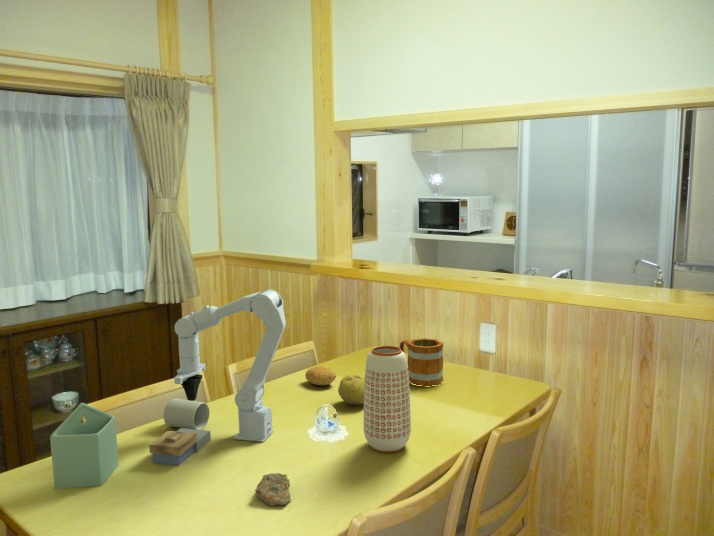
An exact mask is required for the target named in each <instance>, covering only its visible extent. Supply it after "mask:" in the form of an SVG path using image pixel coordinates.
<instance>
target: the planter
mask: <svg viewBox="0 0 714 536" xmlns="http://www.w3.org/2000/svg"><path fill="white" fill-rule="evenodd" d="M83 419H85V421H84V422H83V423H82V420H83ZM117 437H118V435H117V424H116V416H115V415H113V414H110V413H108V412H105V411H103V410H101V409H98V408H96V407H93V406H91V405H89V404H86V403H85V402H80V403H79V404H78V405H77V407H76V408H75V409H73V411H72V412H71V413H70V414H69V416H67V417H66V419H64V420H63V422H61V424H59V426H58V427H57V428H56V429H55V430H54V431H53V432H52V433H51V435H50V437H49V439H50V452H51V454H50V455H51V463H52V465H51V466H52V474H53V486H54V487H53V489H58V490H59V489H75V488H77V489H78V488H90V487H91V488H92V487H102V486H103V485H104V484H105V483H106V482H107V481H108V480H109V478H110V476H111V475H113V474H114V472H115V470H116V469H117V468H118V467H119V466H120V464H119V452H118V450H119V449H118V438H117Z"/></svg>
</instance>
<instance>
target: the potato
mask: <svg viewBox="0 0 714 536" xmlns="http://www.w3.org/2000/svg"><path fill="white" fill-rule="evenodd" d="M305 379H306V381H308V382H309V383H310V384H313V385H316V386H321V387H322V386H327V385H330V384H332V383H333V382H335V380H336V379H337V374H336V372H335V371H333V370H332V369H331V368H330V367H328V366H325V365H324V366H319V365H318V366H312V367H310V368H309V369H307V371H306V372H305Z"/></svg>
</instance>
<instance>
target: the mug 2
mask: <svg viewBox="0 0 714 536" xmlns="http://www.w3.org/2000/svg"><path fill="white" fill-rule="evenodd" d="M404 345H406V347H407V365H408V375H409V381H410V382H411V383H413V384H416V385H422V386H432V385H439V384H440V383H441V382H442V381H443V382H444V376H443V374H444V373H443V369H444V356H443V355H444V354H443V352H444V351H443V350H444V342H443V341H442V340H441V341H440V340H438V339H435V338H434V339H433V338H414V339H411V340H409V341H408V340H406V339H405V340H402V341H400V343H399V348H400V349H401V351H403V352H404V353H405V348H404V347H405V346H404Z"/></svg>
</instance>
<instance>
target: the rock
mask: <svg viewBox="0 0 714 536" xmlns="http://www.w3.org/2000/svg"><path fill="white" fill-rule="evenodd" d="M290 484H291V483H290V479H288V476H287V474H282V473H279V472H277V473H276V472H275V473H268V474H263V475H262V478H261V480H260V481H259V482H258V484H257V486H256V488H255V491H254V492H255V494H256V495H257V497H258V499H259V500H262V501H263V502H264V503H266V504H268V505H269V506H278V505H279V506H280V505H281V506H284V505H287V504H288V503H290V502H291V501H292V499H291V493H290V486H291V485H290Z"/></svg>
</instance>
